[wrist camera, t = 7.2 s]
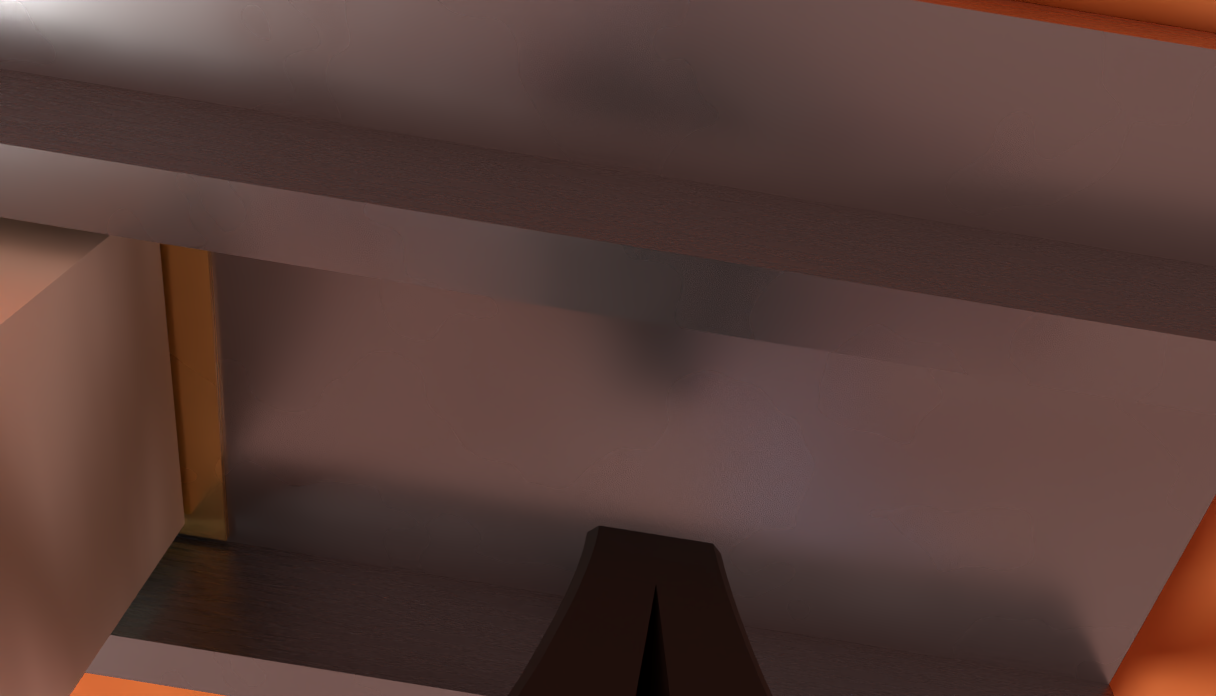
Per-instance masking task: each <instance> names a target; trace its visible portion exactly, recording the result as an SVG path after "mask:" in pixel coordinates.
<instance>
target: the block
mask: <svg viewBox="0 0 1216 696" xmlns="http://www.w3.org/2000/svg"><path fill="white" fill-rule="evenodd" d="M184 524H185V519H184V508H183V497H182V486H181V475H180V464H179V453H178V442H177V431H176V420H175V409H174V398H173V387H172V375H171V364H170V353H169V342H168V331H167V320H166V309H165V298H164V287H163V276H162V265H161V254H160V243H156V242H150V241H144V240H137V239H131V238H125V237H119V236H113V235H107V234H101V233H94V232H88V231H82V230H76V229H70V228H64V227H58V226H51V225H45V224H39V223H33V222H27V221H21V220H14V219H8V218H2V217H0V696H69V695H70V694H71V692H72V691H73V690H74V688H75V687H76V685H77V684H78V682H79V681H80V679H81V678H82V676H83V675H84V673H85V672H86V670H87V669H88V667H89V666H90V664H91V663H92V661H93V660H94V658H95V657H96V655H97V654H98V652H99V651H100V649H101V648H102V646H103V645H104V643H105V642H106V640H107V639H108V637H109V636H110V634H111V633H112V631H113V630H114V628H115V627H116V625H117V624H118V622H119V621H120V619H121V618H122V616H123V615H124V613H125V612H126V611H127V609H128V608H129V606H130V605H131V603H132V602H133V600H134V599H135V597H136V596H137V594H138V593H139V591H140V590H141V588H142V587H143V585H144V584H145V582H146V581H147V579H148V578H149V576H150V575H151V573H152V572H153V570H154V569H155V567H156V566H157V564H158V563H159V561H160V560H161V558H162V557H163V555H164V554H165V552H166V551H167V549H168V548H169V546H170V545H171V543H172V542H173V540H174V539H175V537H176V536H177V534H178V533H179V532H180V530H181V529H182V527H183V526H184Z"/></svg>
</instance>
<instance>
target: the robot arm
mask: <svg viewBox="0 0 1216 696" xmlns="http://www.w3.org/2000/svg"><path fill="white" fill-rule="evenodd" d="M508 696H772V694H771V691H770V689H769V687H768V685H767V682H766V680H765V678H764V676H763V673H762V671H761V669H760V666H759V664H758V661H757V659H756V656H755V654H754V651H753V649H752V646H751V644H750V641H749V639H748V636H747V633H746V631H745V628H744V625H743V623H742V620H741V617H740V614H739V612H738V609H737V606H736V603H735V600H734V597H733V594H732V591H731V588H730V585H729V581H728V578H727V575H726V571H725V568H724V564H723V560H722V556H721V553H720V552H719V551H718V549H717V548H716V547H715V545H714V544H713V543H707V542H700V541H694V540H688V539H681V538H675V537H669V536H663V535H656V534H650V533H644V532H637V531H631V530H625V529H618V528H612V527H606V526H600V525H599V526H597V527H595V528H594V529H592V530H590V531H588V532H587V535H586V539H585V544H584V548H583V551H582V554H581V557H580V560H579V563H578V566H577V568H576V571H575V573H574V576H573V578H572V580H571V583H570V585H569V587H568V589H567V592H566V594H565V596H564V598H563V600H562V602H561V604H560V606H559V608H558V610H557V612H556V614H555V616H554V618H553V620H552V622H551V623H550V625H549V627H548V629H547V631H546V632H545V634H544V636H543V638H542V639H541V641H540V643H539V645H538V647H537V648H536V650H535V652H534V654H533V655H532V657H531V659H530V661H529V663H528V664H527V666H526V668H525V669H524V671H523V673H522V674H521V676H520V677H519V679H518V681H517V682H516V684H515V685H514V687H513V688H512V690H511V691H510V693H509V694H508Z"/></svg>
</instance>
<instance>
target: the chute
mask: <svg viewBox="0 0 1216 696" xmlns="http://www.w3.org/2000/svg"><path fill="white" fill-rule="evenodd" d="M0 217H2V218H8V219H14V220H21V221H27V222H33V223H39V224H45V225H51V226H58V227H64V228H70V229H76V230H82V231H88V232H94V233H101V234H107V235H113V236H119V237H125V238H131V239H137V240H144V241H150V242H156V243H160V254H161V265H162V276H163V287H164V298H165V309H166V320H167V331H168V342H169V353H170V364H171V375H172V387H173V398H174V409H175V420H176V431H177V442H178V453H179V464H180V475H181V486H182V497H183V508H184V519H185V524H184V526H183V527H182V529H181V530H180V532H179V533H178V534H177V536H176V537H175V539H174V540H173V542H172V543H171V545H170V546H169V548H168V549H167V551H166V552H165V554H164V555H163V557H162V558H161V560H160V561H159V563H158V564H157V566H156V567H155V569H154V570H153V572H152V573H151V575H150V576H149V578H148V579H147V581H146V582H145V584H144V585H143V587H142V588H141V590H140V591H139V593H138V594H137V596H136V597H135V599H134V600H133V602H132V603H131V605H130V606H129V608H128V609H127V611H126V612H125V613H124V615H123V616H122V618H121V619H120V621H119V622H118V624H117V625H116V627H115V628H114V630H113V631H112V633H111V634H110V636H109V637H108V639H107V640H106V642H105V643H104V645H103V646H102V648H101V649H100V651H99V652H98V654H97V655H96V657H95V658H94V660H93V661H92V663H91V664H90V666H89V667H88V669H87V670H86V672H85V673H91V674H97V675H103V676H110V677H116V678H122V679H128V680H134V681H140V682H147V683H153V684H159V685H165V686H171V687H178V688H184V689H190V690H196V691H202V692H208V693H215V694H221V695H227V696H508V694H509V693H510V691H511V690H512V688H513V687H514V685H515V684H516V682H517V681H518V679H519V677H520V676H521V674H522V673H523V671H524V669H525V668H526V666H527V664H528V663H529V661H530V659H531V657H532V655H533V654H534V652H535V650H536V648H537V647H538V645H539V643H540V641H541V639H542V638H543V636H544V634H545V632H546V631H547V629H548V627H549V625H550V623H551V622H552V620H553V618H554V616H555V614H556V612H557V610H558V608H559V606H560V604H561V602H562V600H563V598H564V596H565V594H566V592H567V589H568V587H569V585H570V583H571V580H572V578H573V576H574V573H575V571H576V568H577V566H578V563H579V560H580V557H581V554H582V551H583V548H584V544H585V539H586V535H587V532H588V531H590V530H592V529H594V528H595V527H597V526H599V525H600V526H606V527H612V528H618V529H625V530H631V531H637V532H644V533H650V534H656V535H663V536H669V537H675V538H681V539H688V540H694V541H700V542H707V543H713V544H714V545H715V547H716V548H717V549H718V551H719V552H720V553H721V556H722V560H723V564H724V568H725V571H726V575H727V578H728V581H729V585H730V588H731V591H732V594H733V597H734V600H735V603H736V606H737V609H738V612H739V614H740V617H741V620H742V623H743V625H744V628H745V631H746V633H747V636H748V639H749V641H750V644H751V646H752V649H753V651H754V654H755V656H756V659H757V661H758V664H759V666H760V669H761V671H762V673H763V676H764V678H765V680H766V682H767V685H768V687H769V689H770V691H771V694H772V696H1114V695H1113V692H1112V690H1111V688H1110V686H1109V683H1110V681H1111V680H1112V678H1113V676H1114V674H1115V672H1116V671H1117V669H1118V667H1119V665H1120V664H1121V662H1122V660H1123V658H1124V657H1125V655H1126V653H1127V651H1128V649H1129V648H1130V646H1131V644H1132V642H1133V641H1134V639H1135V637H1136V635H1137V633H1138V632H1139V630H1140V628H1141V626H1142V625H1143V623H1144V621H1145V619H1146V617H1147V616H1148V614H1149V612H1150V610H1151V609H1152V607H1153V605H1154V603H1155V601H1156V600H1157V598H1158V596H1159V594H1160V593H1161V591H1162V589H1163V587H1164V585H1165V584H1166V582H1167V580H1168V578H1169V577H1170V575H1171V573H1172V571H1173V570H1174V568H1175V566H1176V564H1177V562H1178V561H1179V559H1180V557H1181V555H1182V554H1183V552H1184V550H1185V548H1186V546H1187V545H1188V543H1189V541H1190V539H1191V538H1192V536H1193V534H1194V532H1195V530H1196V529H1197V527H1198V525H1199V523H1200V522H1201V520H1202V518H1203V516H1204V514H1205V513H1206V511H1207V509H1208V507H1209V506H1210V504H1211V502H1212V500H1213V499H1214V497H1215V495H1216V33H1210V32H1204V31H1198V30H1192V29H1186V28H1180V27H1173V26H1167V25H1161V24H1155V23H1149V22H1143V21H1137V20H1131V19H1125V18H1118V17H1112V16H1106V15H1100V14H1094V13H1088V12H1082V11H1076V10H1069V9H1063V8H1057V7H1051V6H1045V5H1039V4H1033V3H1027V2H1020V1H1014V0H0Z"/></svg>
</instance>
